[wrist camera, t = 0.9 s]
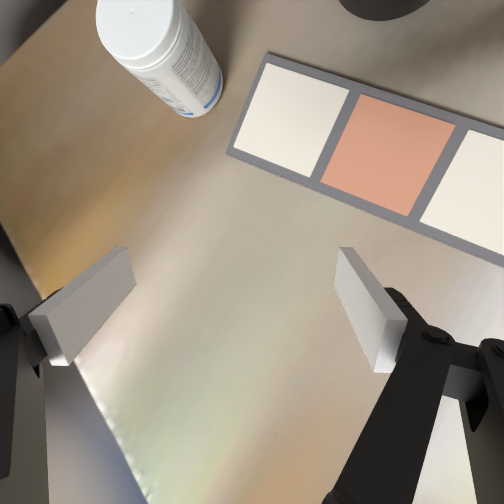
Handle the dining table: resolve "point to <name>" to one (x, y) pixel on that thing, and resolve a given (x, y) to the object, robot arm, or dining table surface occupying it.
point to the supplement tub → (162, 51)
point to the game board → (378, 154)
